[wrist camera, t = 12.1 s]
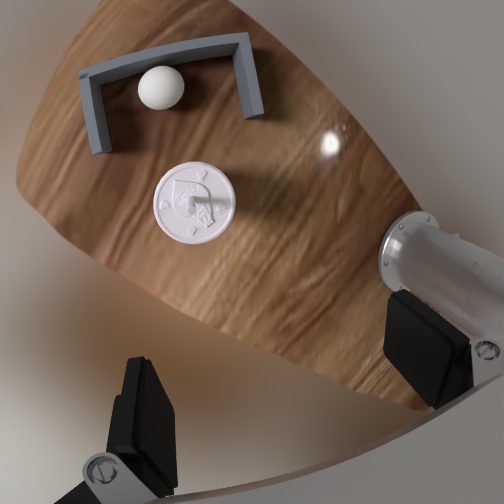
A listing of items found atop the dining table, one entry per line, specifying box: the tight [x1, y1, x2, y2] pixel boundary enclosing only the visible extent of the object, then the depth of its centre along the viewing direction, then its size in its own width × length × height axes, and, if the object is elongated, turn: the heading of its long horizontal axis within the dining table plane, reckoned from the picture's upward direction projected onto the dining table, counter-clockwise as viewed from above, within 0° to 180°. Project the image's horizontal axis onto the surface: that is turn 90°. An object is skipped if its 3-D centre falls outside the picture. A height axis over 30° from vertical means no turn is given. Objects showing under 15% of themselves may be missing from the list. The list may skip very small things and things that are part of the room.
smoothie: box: [153, 162, 236, 244], centre depth 25 cm, size 6×6×14 cm
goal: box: [78, 32, 264, 155], centre depth 25 cm, size 16×8×4 cm, turn 101°
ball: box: [138, 66, 184, 110], centre depth 25 cm, size 4×4×4 cm
